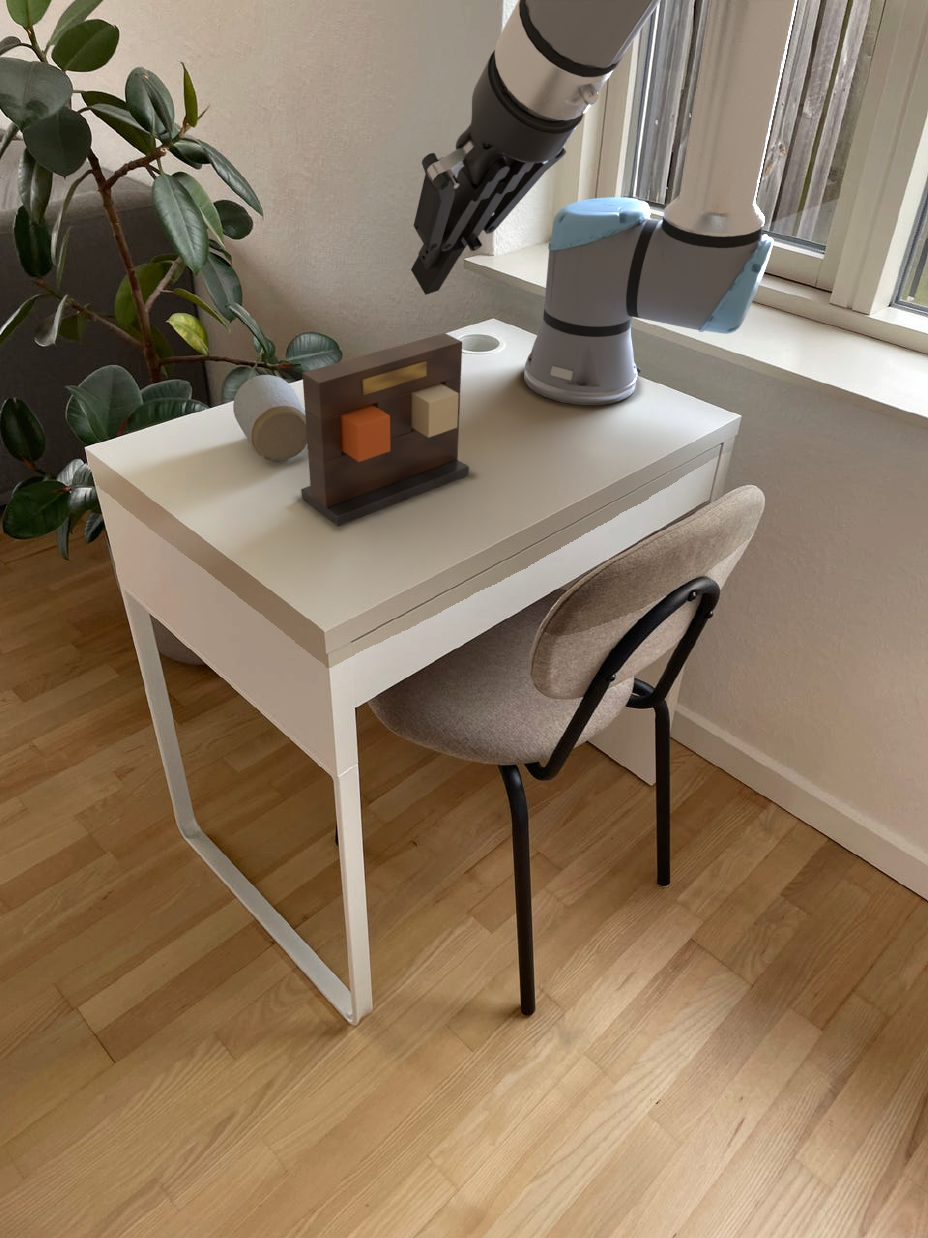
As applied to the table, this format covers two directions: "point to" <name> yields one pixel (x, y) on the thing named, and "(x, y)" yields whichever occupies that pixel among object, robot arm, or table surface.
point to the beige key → (434, 409)
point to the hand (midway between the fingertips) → (424, 279)
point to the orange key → (365, 432)
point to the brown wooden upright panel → (413, 456)
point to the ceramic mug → (271, 417)
